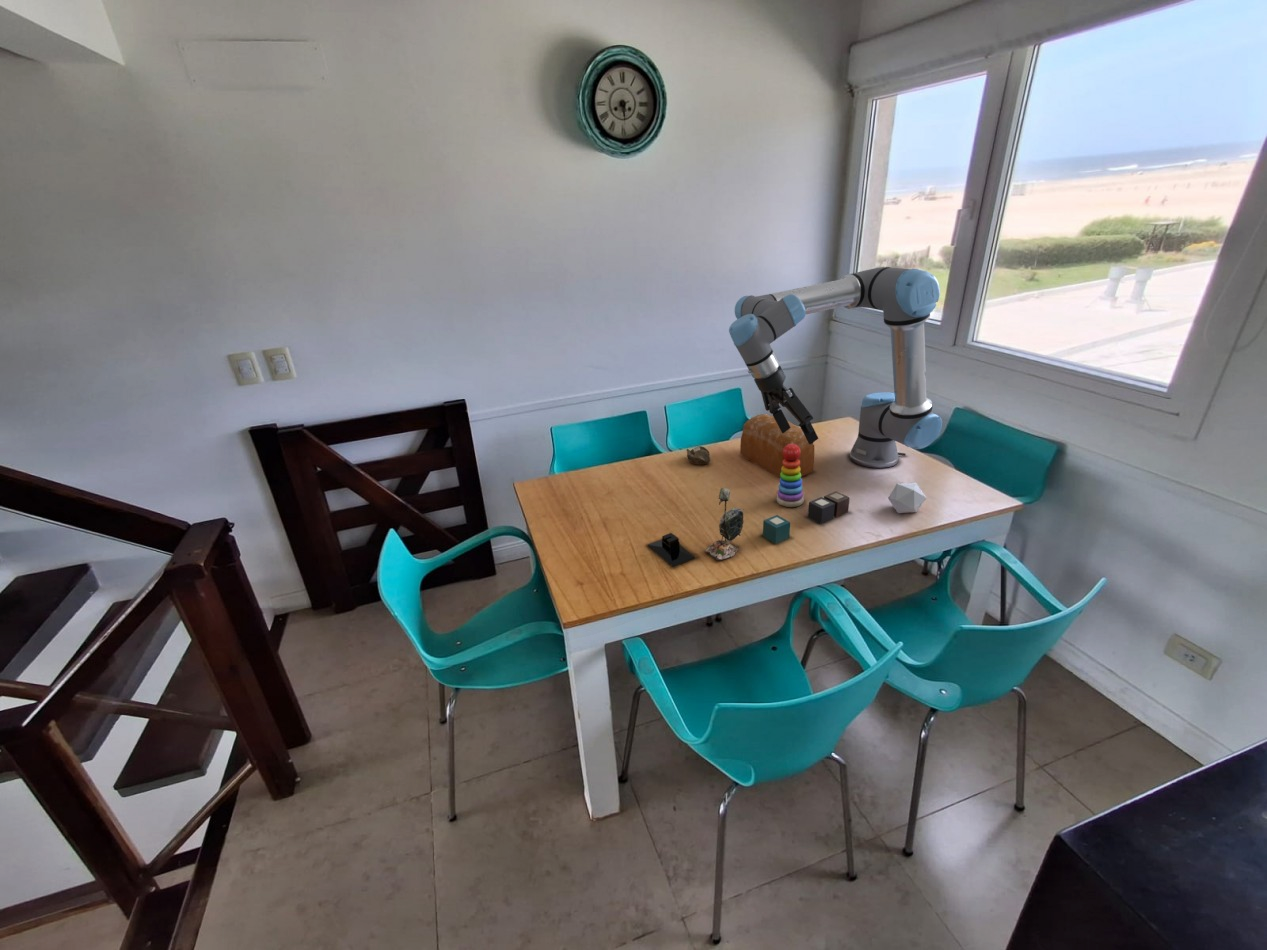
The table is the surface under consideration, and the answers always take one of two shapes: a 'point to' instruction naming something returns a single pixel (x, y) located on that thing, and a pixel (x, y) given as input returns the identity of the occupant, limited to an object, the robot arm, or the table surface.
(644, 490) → the table surface
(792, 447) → the stacking toy
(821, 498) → the charcoal block
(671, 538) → the build plate
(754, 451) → the bread
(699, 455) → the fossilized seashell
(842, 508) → the walnut block
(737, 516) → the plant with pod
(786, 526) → the teal block
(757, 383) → the robot arm
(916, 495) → the die
